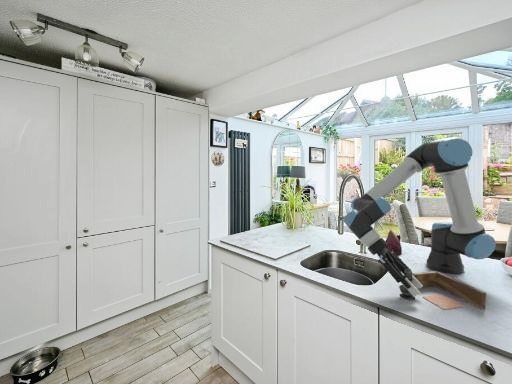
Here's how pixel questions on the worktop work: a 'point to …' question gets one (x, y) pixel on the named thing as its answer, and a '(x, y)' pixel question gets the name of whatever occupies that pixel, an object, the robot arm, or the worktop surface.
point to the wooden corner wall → (452, 287)
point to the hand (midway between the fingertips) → (418, 291)
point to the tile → (443, 301)
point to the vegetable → (393, 243)
